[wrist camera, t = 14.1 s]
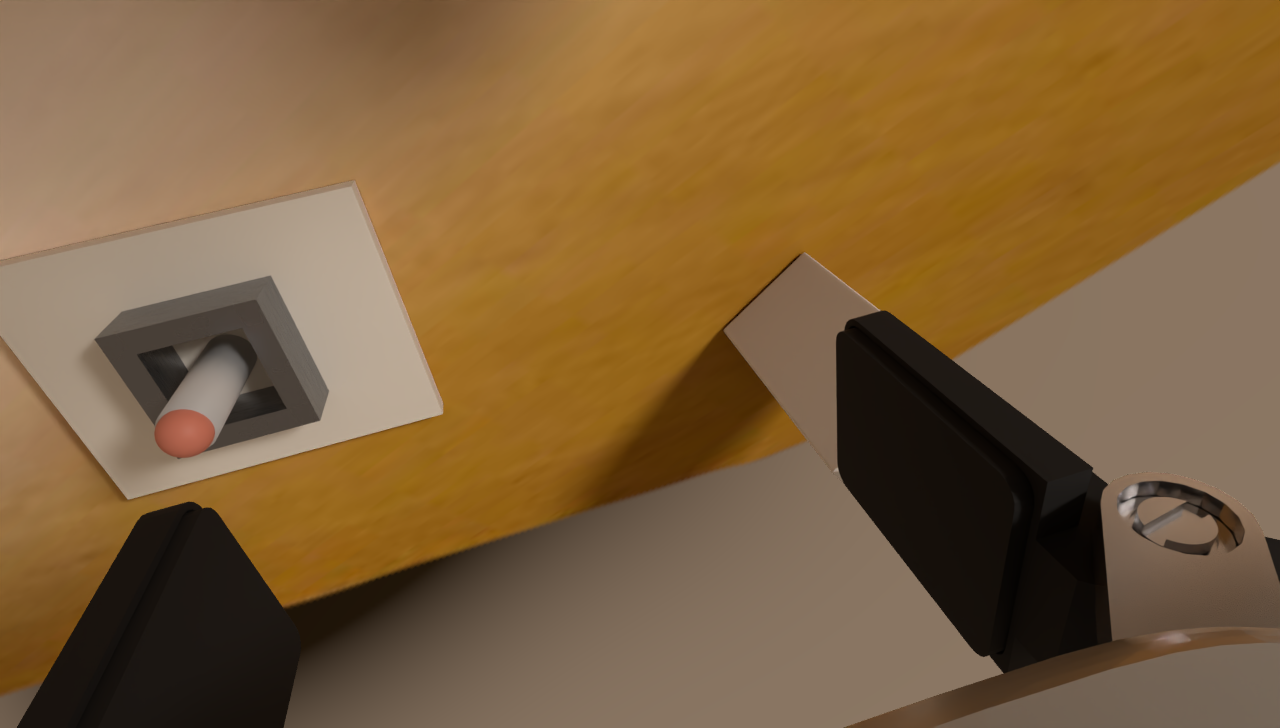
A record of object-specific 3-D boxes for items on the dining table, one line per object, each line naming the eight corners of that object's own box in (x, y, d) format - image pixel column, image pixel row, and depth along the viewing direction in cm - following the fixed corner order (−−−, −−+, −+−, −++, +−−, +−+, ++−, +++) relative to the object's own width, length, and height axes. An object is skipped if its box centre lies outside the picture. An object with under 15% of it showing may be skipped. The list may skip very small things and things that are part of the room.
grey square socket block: (121, 311, 33) (94, 339, 30) (270, 275, 34) (255, 299, 31) (196, 426, 37) (177, 459, 34) (329, 391, 38) (320, 420, 35)
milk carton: (782, 386, 47) (954, 598, 31) (720, 328, 43) (878, 534, 27) (860, 315, 45) (1083, 498, 29) (802, 249, 42) (1019, 417, 26)
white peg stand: (-30, 267, 32) (-194, 365, 24) (354, 180, 34) (323, 242, 26) (136, 486, 39) (54, 617, 31) (443, 403, 41) (440, 505, 33)
